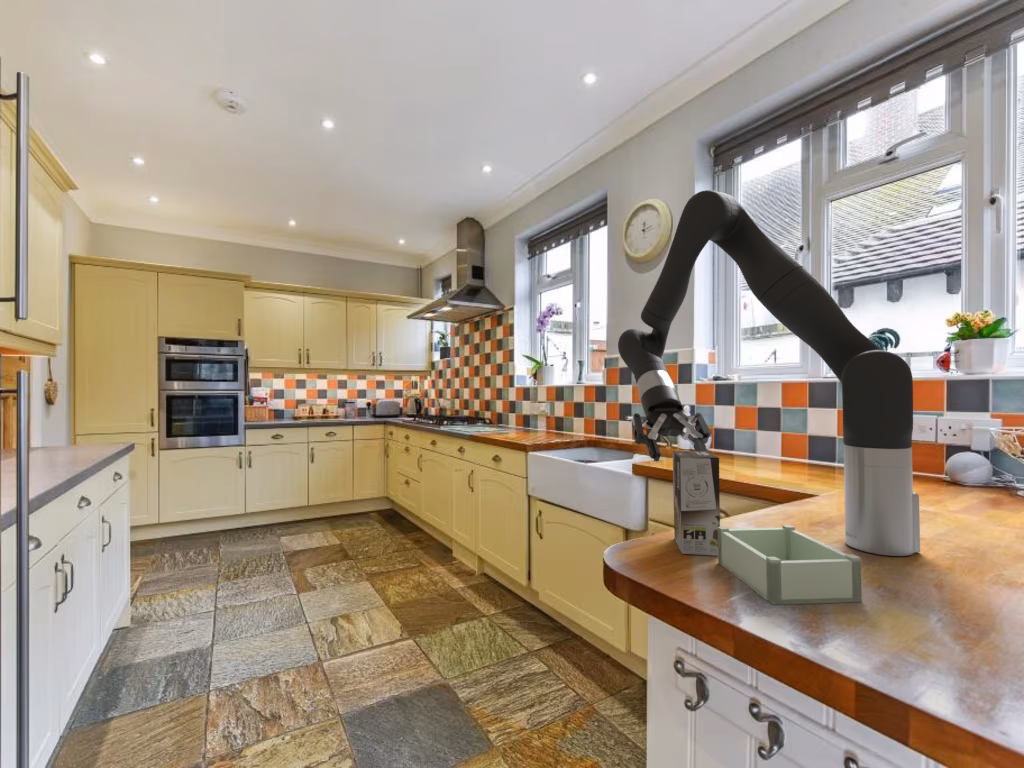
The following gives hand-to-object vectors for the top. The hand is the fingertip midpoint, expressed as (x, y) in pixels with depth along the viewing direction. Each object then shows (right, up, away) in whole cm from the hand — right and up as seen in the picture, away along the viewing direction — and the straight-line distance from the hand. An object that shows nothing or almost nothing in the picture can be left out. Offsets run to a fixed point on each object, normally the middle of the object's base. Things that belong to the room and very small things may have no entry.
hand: (680, 458), depth 89 cm
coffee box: (0, -14, -7) cm, 16 cm away
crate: (+7, -14, -22) cm, 27 cm away
